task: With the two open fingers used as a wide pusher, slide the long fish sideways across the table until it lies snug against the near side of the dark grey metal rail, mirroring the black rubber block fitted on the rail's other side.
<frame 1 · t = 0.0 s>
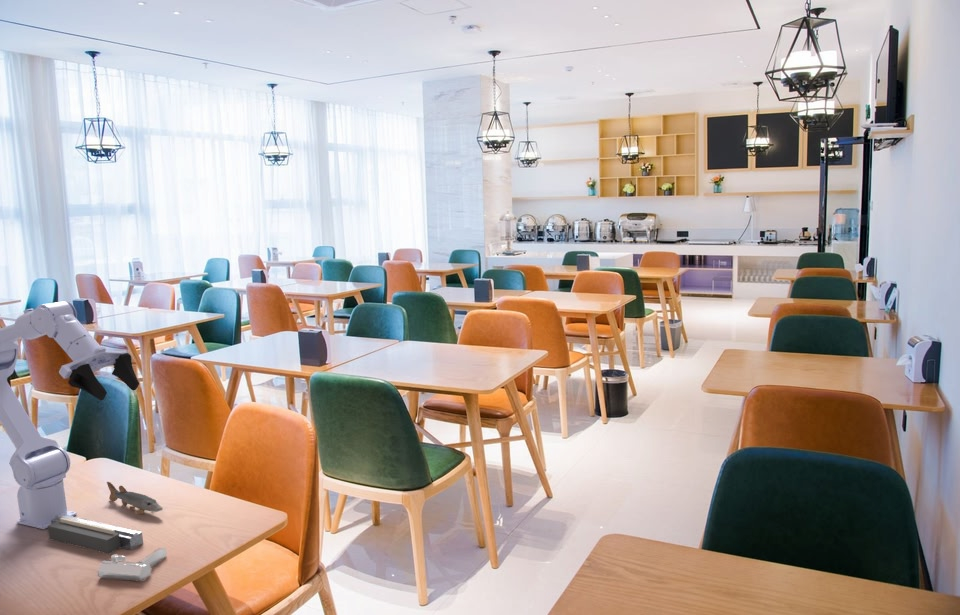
hand: (120, 391, 142), 32 cm above the table, tool tilted 50°, fingers open, 7 cm apart
fish: (135, 510, 162), on the table
rail: (96, 536, 149), on the table
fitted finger: (84, 543, 146), on the table
silver l-shaped piece: (137, 570, 136), on the table
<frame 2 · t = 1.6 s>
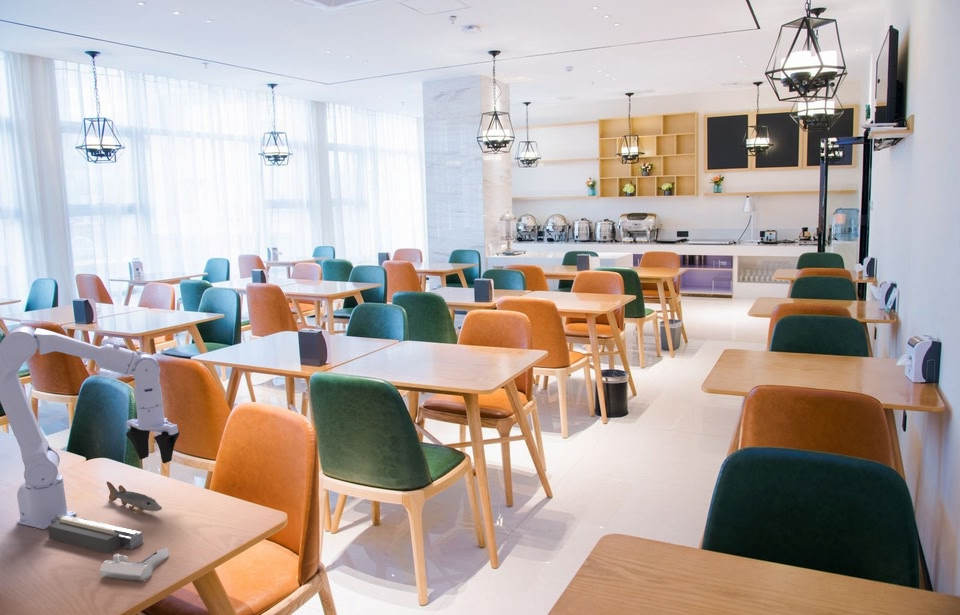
hand: (155, 459, 167), 9 cm above the table, tool pointing down, fingers open, 7 cm apart
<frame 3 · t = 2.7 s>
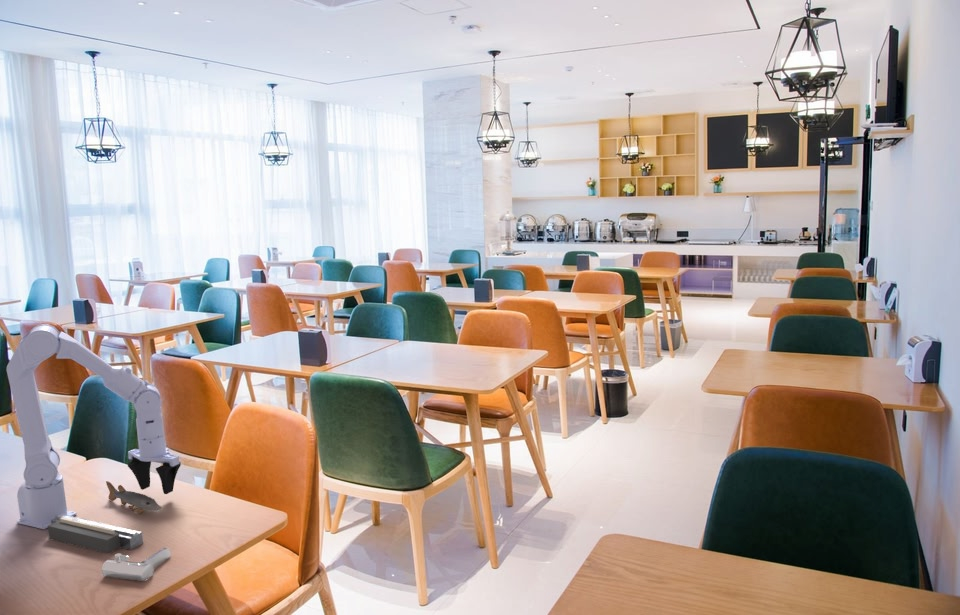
hand: (156, 490, 168), 2 cm above the table, tool pointing down, fingers open, 7 cm apart
nothing on the table moved.
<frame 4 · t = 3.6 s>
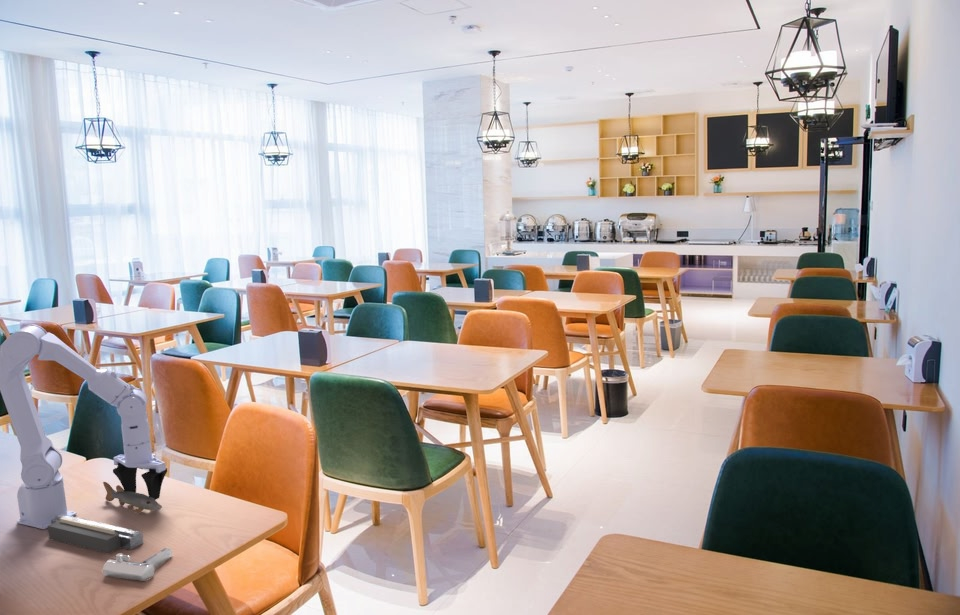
hand: (143, 496, 164), 2 cm above the table, tool pointing down, fingers open, 7 cm apart
fish: (132, 509, 162), on the table, touching gripper
everything else where it was.
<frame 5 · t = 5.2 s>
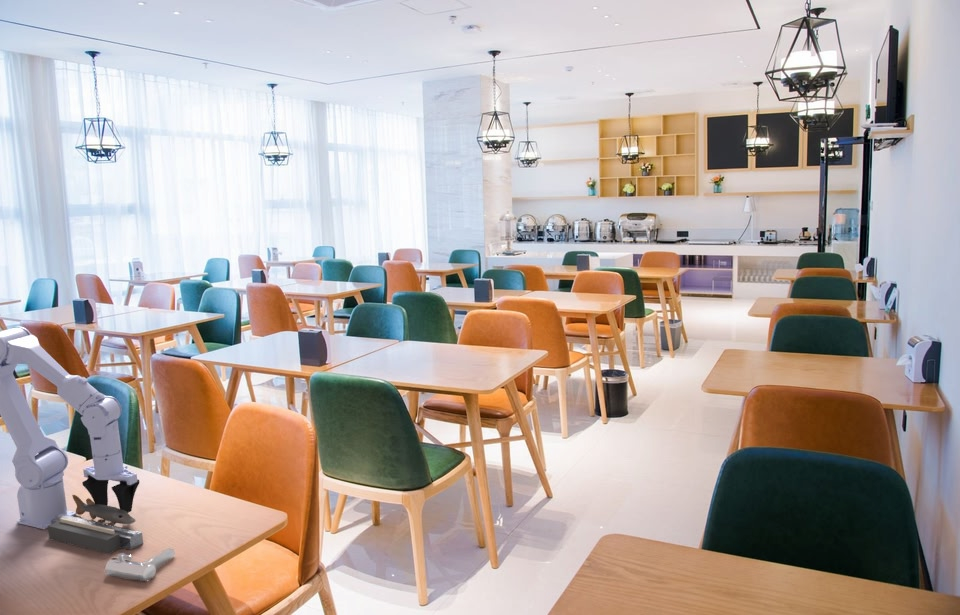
hand: (114, 510, 157), 2 cm above the table, tool pointing down
fish: (105, 523, 155), on the table, touching arm, gripper
when the fingers open (2 cm above the table, at t = 6.1 s): fish stays where it is, on the table.
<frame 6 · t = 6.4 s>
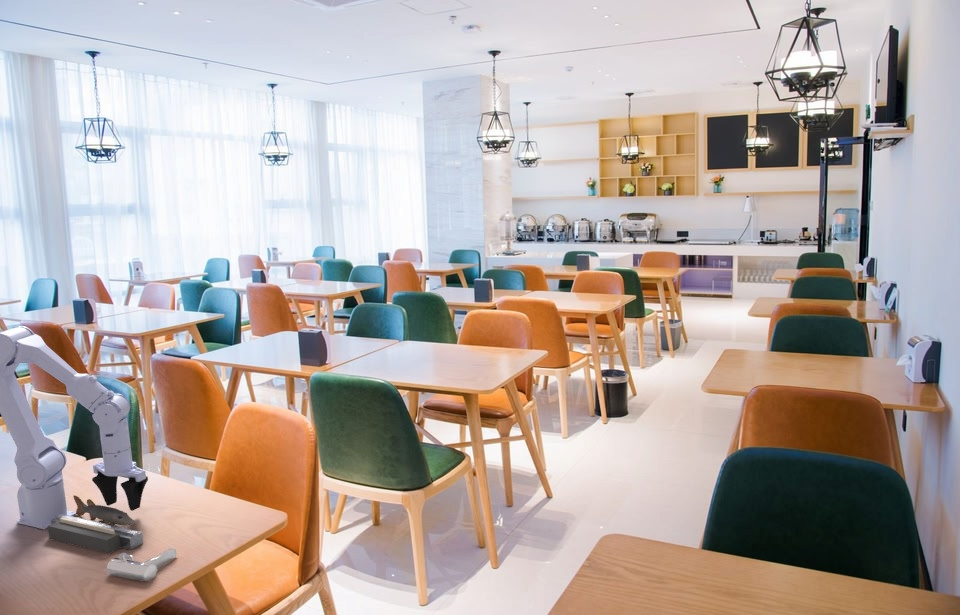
hand: (123, 506, 159), 2 cm above the table, tool pointing down, fingers open, 7 cm apart
fish: (104, 524, 155), on the table
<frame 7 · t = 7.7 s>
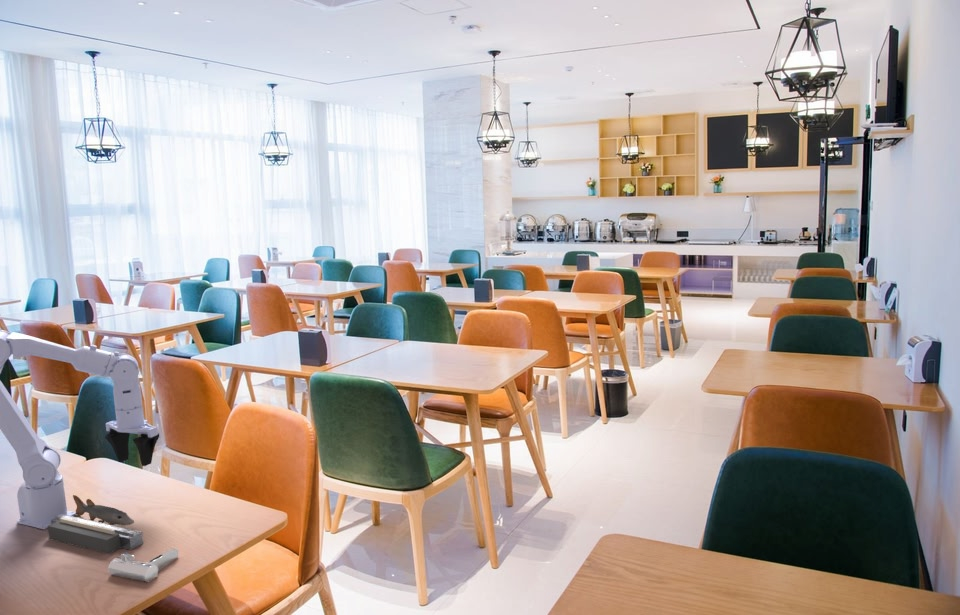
hand: (135, 462, 164), 10 cm above the table, tool pointing down, fingers open, 7 cm apart
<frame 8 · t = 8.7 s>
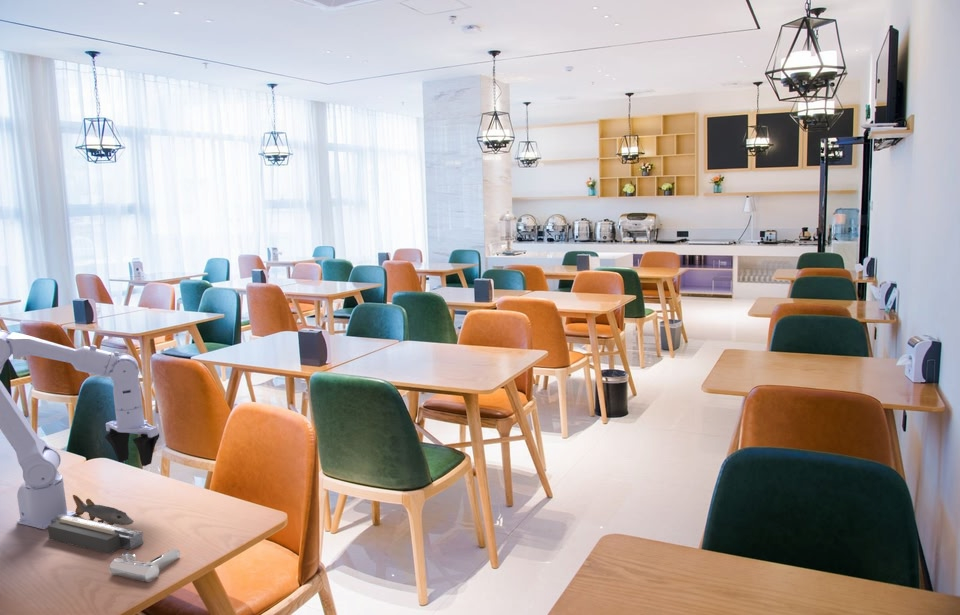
hand: (135, 462, 164), 10 cm above the table, tool pointing down, fingers open, 7 cm apart
at the end: fish inside the target area on the table beside the rail (3.8 cm from its centre), on the table; fish moved 7.7 cm from its start; the gripper is holding nothing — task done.
